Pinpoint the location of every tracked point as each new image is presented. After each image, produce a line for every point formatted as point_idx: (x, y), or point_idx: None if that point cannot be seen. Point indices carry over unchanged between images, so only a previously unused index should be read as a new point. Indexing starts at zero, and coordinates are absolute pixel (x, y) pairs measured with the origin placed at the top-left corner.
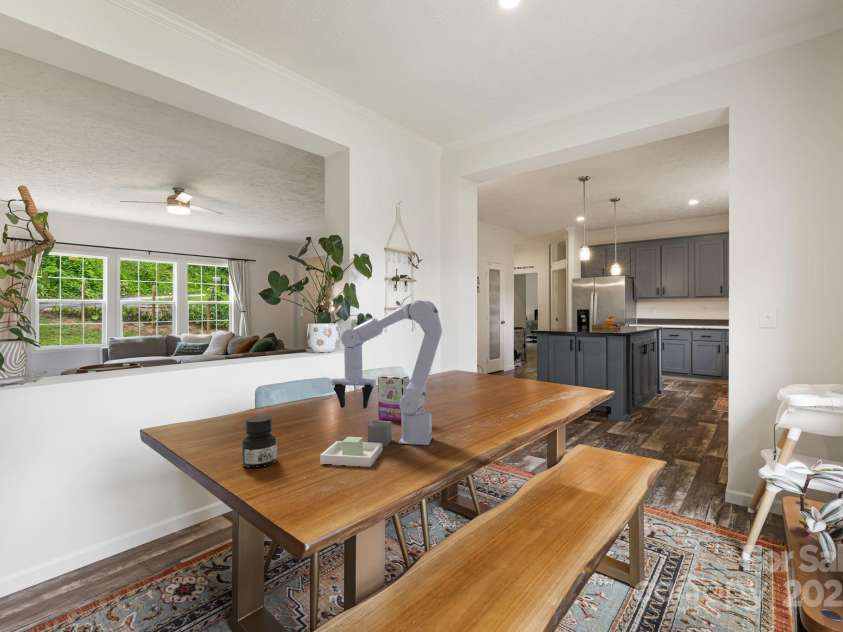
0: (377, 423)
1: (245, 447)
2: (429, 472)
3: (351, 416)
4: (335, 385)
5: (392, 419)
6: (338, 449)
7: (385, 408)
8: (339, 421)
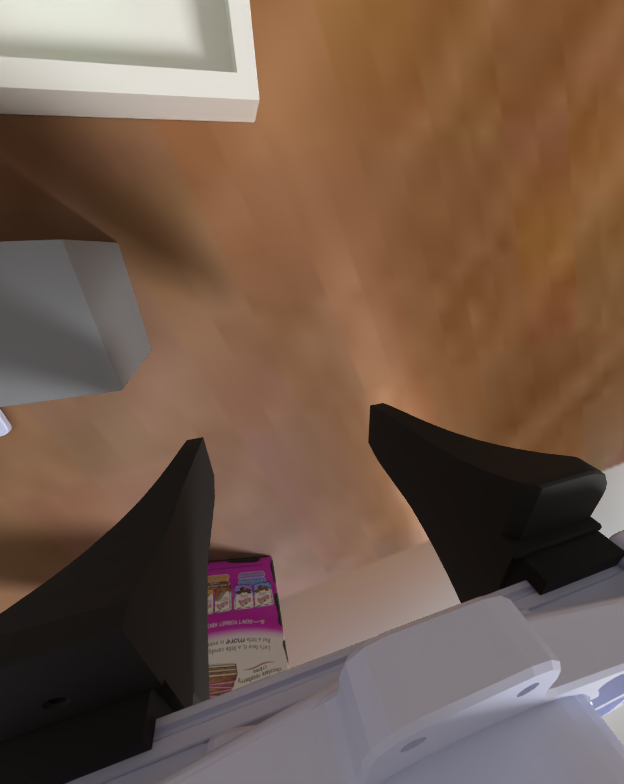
0: (30, 331)
1: None
2: None
3: (372, 542)
4: (599, 538)
5: (208, 567)
6: (223, 67)
7: (242, 605)
8: (392, 492)
